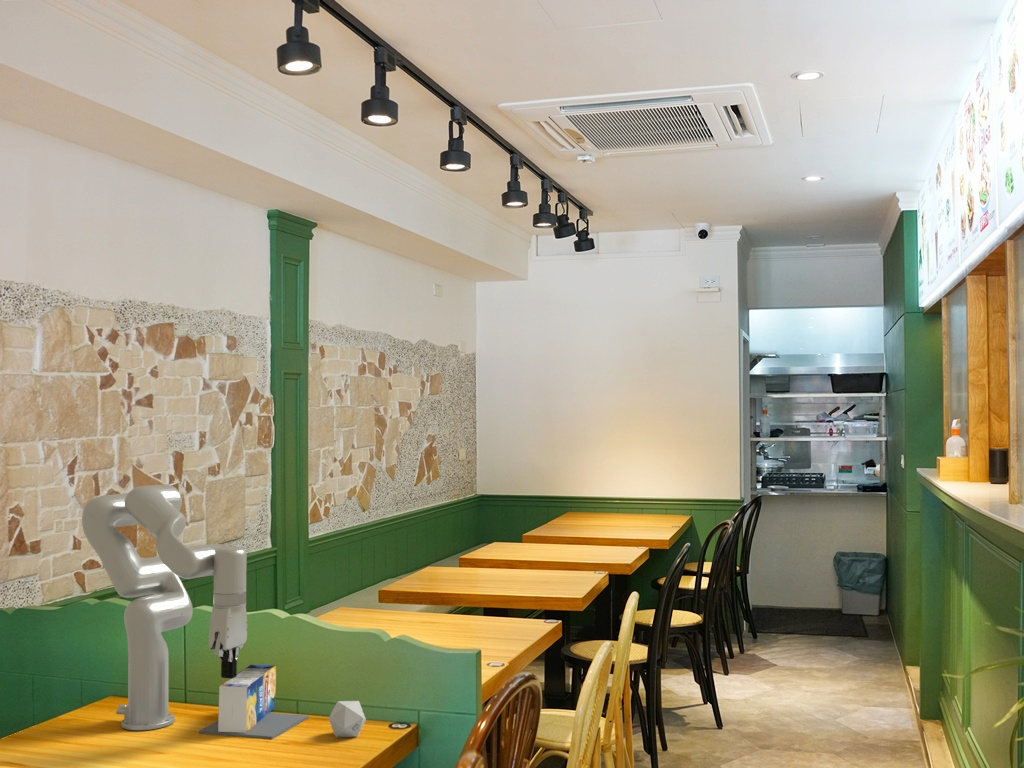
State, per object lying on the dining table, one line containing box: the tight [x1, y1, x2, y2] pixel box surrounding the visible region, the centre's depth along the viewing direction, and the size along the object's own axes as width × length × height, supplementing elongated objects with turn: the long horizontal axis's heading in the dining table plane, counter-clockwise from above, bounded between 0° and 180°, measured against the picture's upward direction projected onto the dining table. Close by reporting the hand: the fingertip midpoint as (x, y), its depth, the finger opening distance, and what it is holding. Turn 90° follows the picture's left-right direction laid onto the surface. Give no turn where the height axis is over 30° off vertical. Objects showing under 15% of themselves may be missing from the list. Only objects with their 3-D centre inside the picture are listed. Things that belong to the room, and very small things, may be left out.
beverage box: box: [217, 664, 277, 733], centre depth 250 cm, size 7×11×22 cm
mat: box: [198, 712, 309, 740], centre depth 246 cm, size 20×18×1 cm
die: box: [328, 700, 367, 738], centre depth 237 cm, size 8×9×10 cm
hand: (228, 677), depth 237 cm, fingers closed
